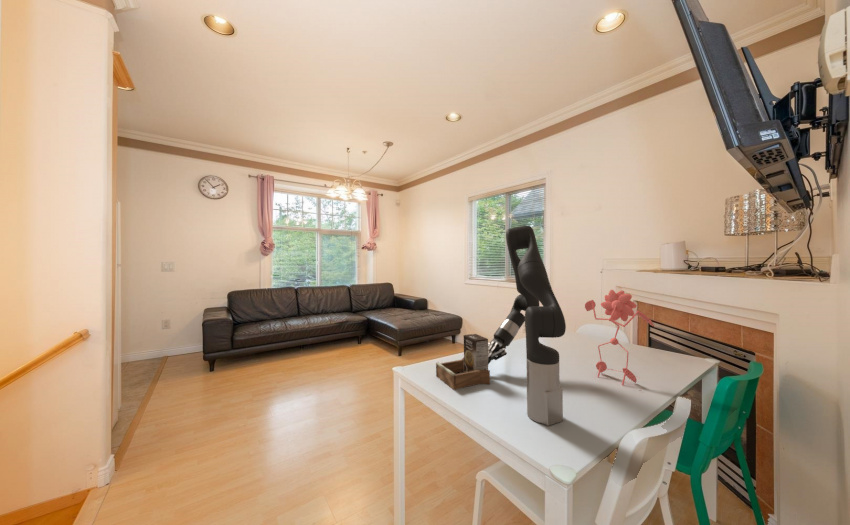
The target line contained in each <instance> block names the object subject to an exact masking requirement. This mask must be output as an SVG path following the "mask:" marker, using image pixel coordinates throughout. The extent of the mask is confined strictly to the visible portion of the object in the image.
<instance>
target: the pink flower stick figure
mask: <svg viewBox="0 0 850 525" xmlns="http://www.w3.org/2000/svg"><path fill="white" fill-rule="evenodd" d="M608 291H609V292H608V294H605V295H604V301H602V302H601V303H600V305H601V307H602V308H603V309H605V310H604V315H606V316H610V317H609V318H603V317H602V318H601V317H600V318H599V317H597V314H596V310H595V308H596V302H595V301H594V300H593V299H591V300H588V301H586V302H585V304H584V309H585V310H586V312H589V311H593V315H594V316H593V317H594V319H595V320H597V321H599V320H603V321H609V322H611V323H613V324H614V325H616V326H617V329H616V331H615V334H614V337H613V338H611V339H610V341H608V342H605V343H601V344H599V345H597V348H598V353H599V359H600V361H598V362H596V364H595V368H596V369H597V370H598V372H597V378H599V377H600V373H601V374H602V373H603V372H605V371H606V370H611V371H616V372H618V370H616V369H612V368H608V366H607V363H606V361H604V360H602V355H601V350H600V346H604V345H608V344H612V345H613V346H617V345H619V346H620V347H621V348H622V349H623V350H624V351H625V352H626V365H625V367H623V368H622V371H620V370H619V372H621V373H623V378H622V383H621V385H622V386H624V385H625V381H626V378H628V379H629V380H631V381H632V382H633V383H635V384H636V383H637V378H638V379H640V377H639V376H636V375H635V374H634V373H633V372H632V371H631V370H629V369H628V367H629V366H628V364H629V363H628V362H629V351H628V350H627V349H626V348H625V347H624V346H623V345H622V344H621V343H619V340H618V339H617V338H616V337H617V336H618V335H617V334H618V333H619V329H620V326H621V327H623V328H625V327H626V326H627V325H628V324H629V323H630V322H631V321H632V320H633V319H634V318H635V317H636V316H637V315H638V316H640V318H641V319H642V320H644V321H645V322H646V323H647V324H649V325H651V326H652V327H654V326H655V324H654V323H653V321H652V319H650V318H649V317H648V316H647V315H646V314H644V313H643V312H641V311H639V310H636V312H635V311H634V309H635V308H637V304H636V303H635V302H634V301H632V298H633V296H632V294H630V293H626V292H625V291H624V290H619V291H617V292H616V291H615V290H614V289H610V290H608ZM629 317H630V318H629ZM619 319H621V321H622V322H625V324H622V323H620V322H617V321H618V320H619ZM639 391H640V392H641V389H639V390H638V392H639Z"/></svg>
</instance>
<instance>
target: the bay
mask: <svg viewBox="0 0 850 525" xmlns="http://www.w3.org/2000/svg"><path fill="white" fill-rule="evenodd" d="M463 371H464V357H463V358H461V359H457V360H451V361H446V362H441V363H440V362H439V361H438V362H436V363H435V373H436V374H435V376H436V378H438V379H439V380H440V381H442V382H443V383H445V385H446V386H448V387H449V388H450V389H452V390H458V389H462V388H467V387H472V386H476V385H480V384H482V385H490V384H491V380H490V379H491V377H490V376H491V374H490V373H491V370H489V369H488V370H475V371H470V372H465V373H464V372H463ZM458 372H461V373H458Z"/></svg>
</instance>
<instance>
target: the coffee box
mask: <svg viewBox="0 0 850 525" xmlns="http://www.w3.org/2000/svg"><path fill="white" fill-rule="evenodd" d="M488 343H489V338H487V337H484V336H482V335H479V334H477V333H473V334H470V333H469V334H465V335H463V358H464V372H463V373H465V372H470V371H475V370H489V364H488Z"/></svg>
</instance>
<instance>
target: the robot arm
mask: <svg viewBox="0 0 850 525" xmlns="http://www.w3.org/2000/svg"><path fill="white" fill-rule="evenodd" d="M505 239H506V240H505V241H506V246H507V251H508V255H509V258H510V262H511V266H512V269H513V273H514V279H515V285H516V286H515V287H516V291H517V292H518V293H519V294H518V295H517V296H516V298H515V299H514V301H513V305H512V307H511V310H510V312H509V313H508V315H507V316H506V318H505V319H504V321H502V323H500V324H499V327H498V328H497V329H496V331H495V332H494V334H493V338H492V339H491V340H490V342H488V365H489V364H490V363H491V362H492V361H493V360H495V361H498V360H499V359H500V358H503V357H504V356H506V355H507V354H508V352H506V349H507V347H509V346H510V344H511V343H512V342H513V341H514V339H515V338H516V336H517V334H518V333H519V331H520V329H521V328H522V326H523V324H524V327H525V350H526V351H525V352H526V414H527V417H528V418H529V419H531V420H532V421H535V422H537V423H539V424H543V425H545V426H552V425H555V424H557V423H560V422H563V421H564V409H563V408H564V405H563V403H564V400H563V398H564V397H563V393H564V392H563V391H564V390H563V388H561V387H560V353H559V351H558V350H557V349H555V348H554V347H551V346H548V345H545V344H543V343H541V342H540V341H539V338H551V339H555V338H561V337H563V336H564V335H565V333H566V330H567V324H566V320H565V315H564V312H563V311H562V308H561V306H560V304H559V302H558V300H557V297H556V295H555V293H554V291H553V289H552V285H551V283H550V279H549V277H548V276H549V275H548V272H547V269H546V266H545V264H544V261H543V259H542V256H541V254H540V250H539V247H538V243H537V239H536V235H535V232H534V229H533V227H532V226H530V225H523V226H516V227H511V228H510V227H509V228H508V229H506V231H505ZM524 249H527V250H526V252H525V253H524V254H523V256H522V258H521V259H520V257H519V255H518V253H517V251H518V250H524ZM540 304H541V305H542V306H540ZM521 311H524V314H523V313H522V312H521Z"/></svg>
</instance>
